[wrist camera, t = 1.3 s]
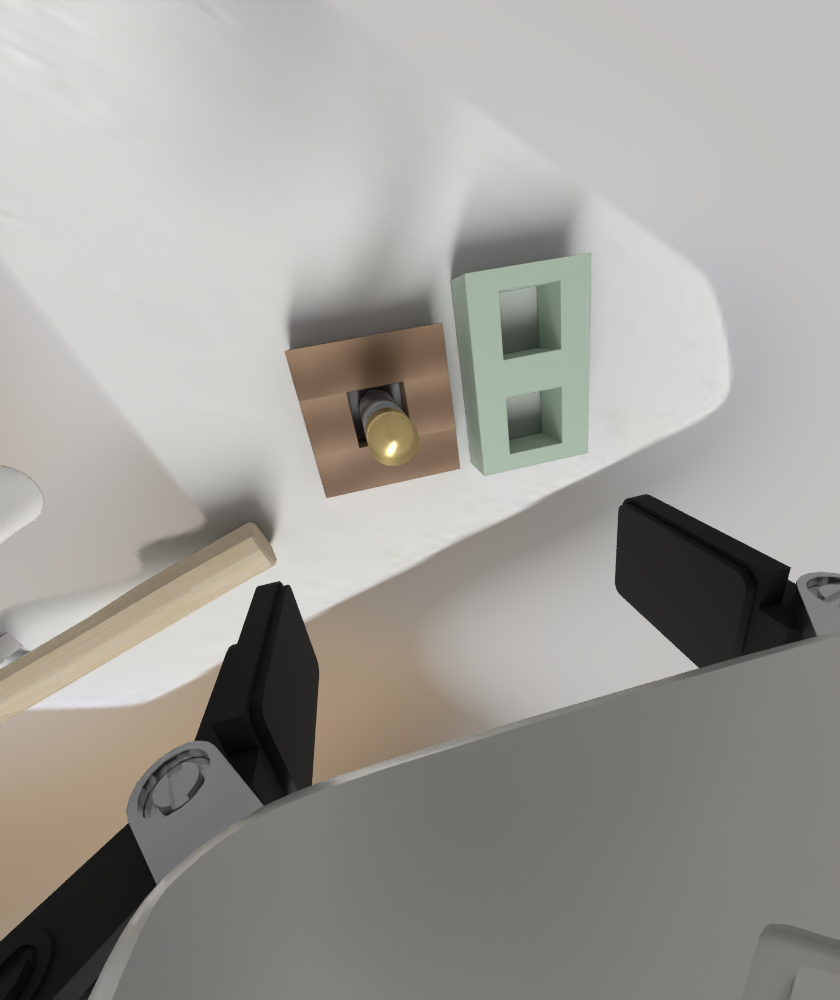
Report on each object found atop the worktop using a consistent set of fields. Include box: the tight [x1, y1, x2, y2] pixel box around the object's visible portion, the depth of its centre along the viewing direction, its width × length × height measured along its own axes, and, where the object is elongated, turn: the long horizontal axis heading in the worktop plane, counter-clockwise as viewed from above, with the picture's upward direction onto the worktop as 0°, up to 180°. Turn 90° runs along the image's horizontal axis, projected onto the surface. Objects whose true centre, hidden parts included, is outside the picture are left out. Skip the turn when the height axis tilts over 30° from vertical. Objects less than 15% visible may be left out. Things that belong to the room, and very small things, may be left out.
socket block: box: [285, 323, 460, 498], centre depth 34 cm, size 12×12×4 cm
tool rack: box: [451, 253, 591, 476], centre depth 34 cm, size 16×10×4 cm, turn 9°
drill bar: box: [359, 390, 419, 466], centre depth 30 cm, size 3×3×12 cm
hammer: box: [0, 522, 277, 725], centre depth 33 cm, size 16×5×30 cm
